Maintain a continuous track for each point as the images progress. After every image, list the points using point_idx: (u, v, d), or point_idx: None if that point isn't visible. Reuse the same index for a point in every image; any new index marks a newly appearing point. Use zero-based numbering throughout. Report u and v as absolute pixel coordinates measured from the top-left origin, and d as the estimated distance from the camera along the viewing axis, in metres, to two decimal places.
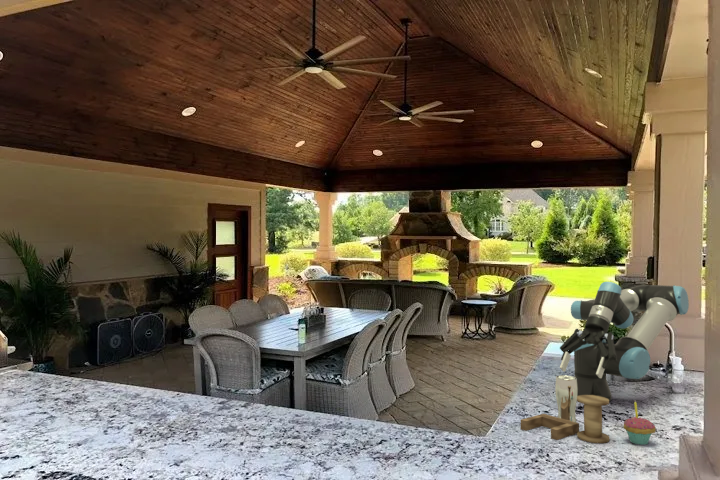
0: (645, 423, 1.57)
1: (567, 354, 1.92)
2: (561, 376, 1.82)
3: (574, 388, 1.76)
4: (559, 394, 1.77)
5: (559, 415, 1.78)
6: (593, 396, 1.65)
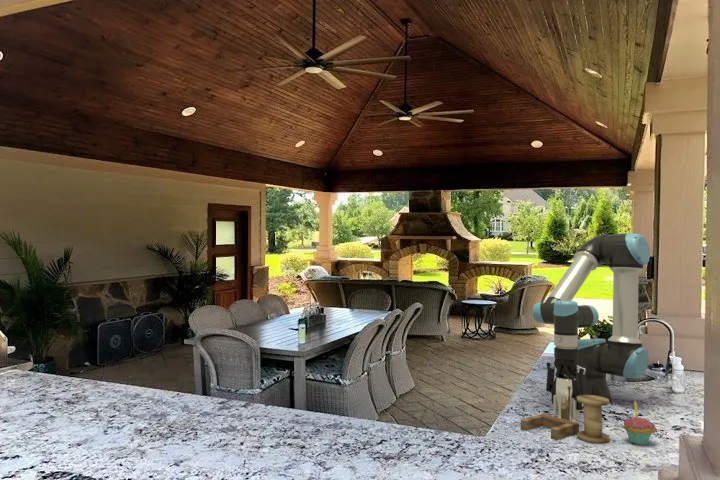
0: (645, 423, 1.57)
1: None
2: None
3: None
4: (559, 394, 1.77)
5: (559, 415, 1.78)
6: (593, 396, 1.65)
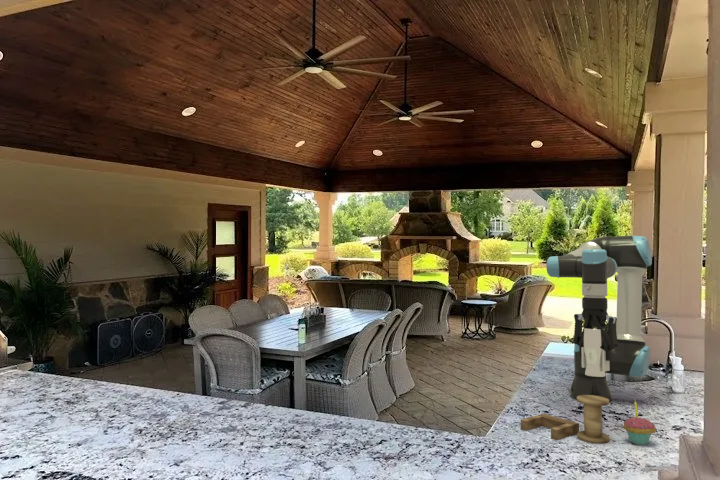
0: (646, 423, 1.57)
1: None
2: None
3: None
4: (587, 345, 1.71)
5: (587, 367, 1.72)
6: (593, 396, 1.65)
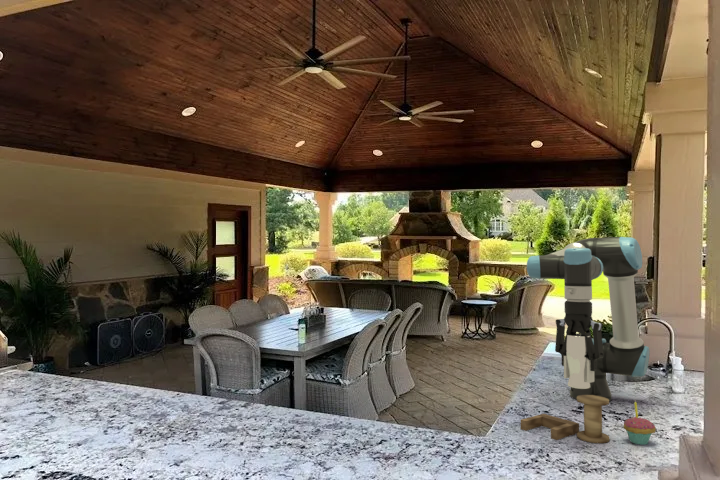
0: (645, 423, 1.57)
1: None
2: None
3: None
4: (570, 353, 1.55)
5: (570, 378, 1.56)
6: (593, 396, 1.65)
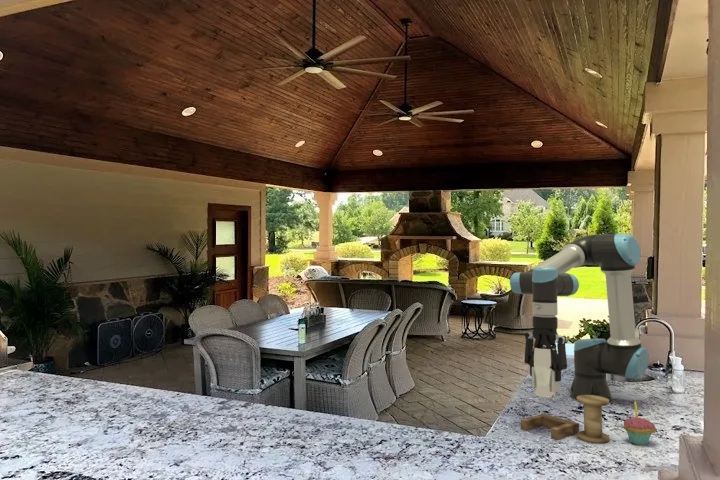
0: (645, 423, 1.57)
1: None
2: None
3: None
4: (537, 365, 1.67)
5: (537, 387, 1.68)
6: (593, 396, 1.65)
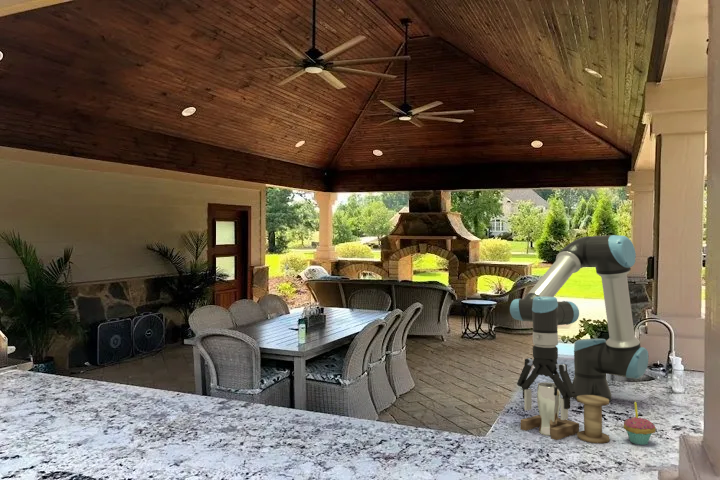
0: (645, 423, 1.57)
1: (527, 392, 1.73)
2: (543, 383, 1.71)
3: (557, 396, 1.65)
4: (541, 403, 1.66)
5: (541, 425, 1.67)
6: (593, 396, 1.65)
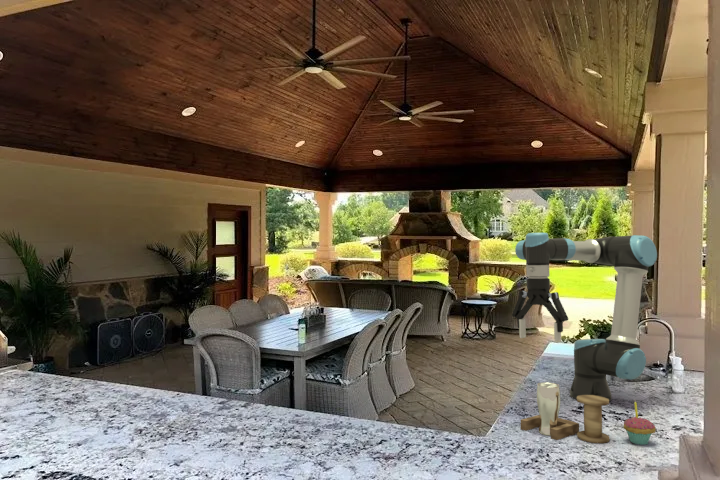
0: (645, 423, 1.57)
1: (521, 321, 1.88)
2: (543, 383, 1.71)
3: (556, 396, 1.65)
4: (540, 403, 1.66)
5: (541, 425, 1.67)
6: (593, 396, 1.65)
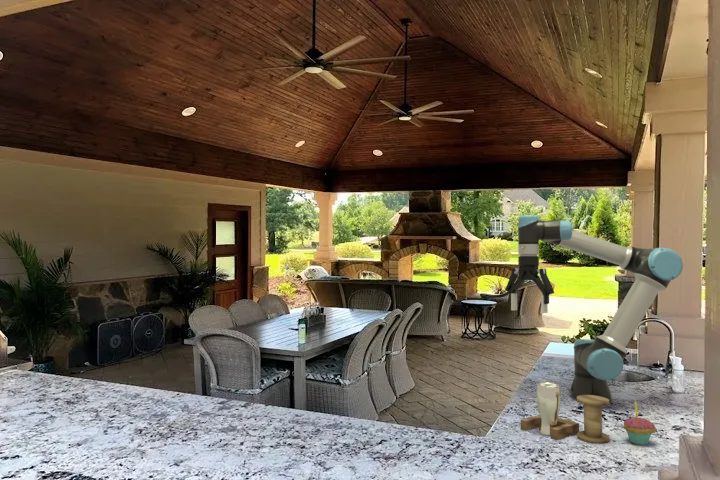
0: (645, 423, 1.57)
1: (513, 295, 2.09)
2: (543, 383, 1.71)
3: (556, 396, 1.65)
4: (540, 403, 1.66)
5: (541, 425, 1.67)
6: (593, 396, 1.65)
